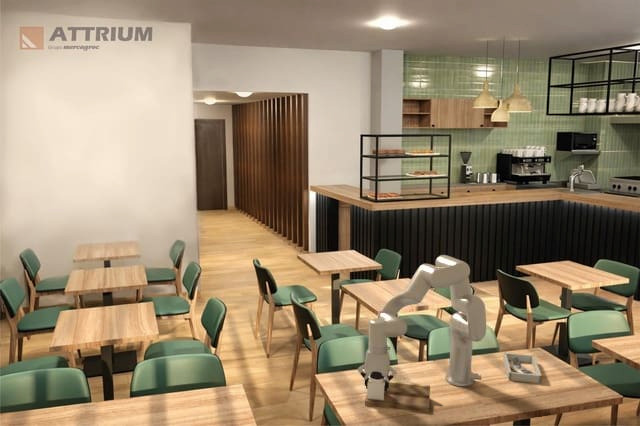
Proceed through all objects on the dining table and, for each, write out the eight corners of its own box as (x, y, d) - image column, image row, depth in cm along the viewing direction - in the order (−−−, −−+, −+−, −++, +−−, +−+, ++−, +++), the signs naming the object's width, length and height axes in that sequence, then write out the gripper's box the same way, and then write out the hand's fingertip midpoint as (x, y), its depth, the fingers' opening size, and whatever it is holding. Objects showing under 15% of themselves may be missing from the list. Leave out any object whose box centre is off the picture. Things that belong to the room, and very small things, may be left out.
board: (429, 398, 235) (430, 385, 235) (428, 412, 224) (429, 398, 223) (368, 391, 241) (368, 378, 240) (364, 405, 229) (365, 391, 228)
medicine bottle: (384, 400, 229) (385, 373, 227) (367, 399, 230) (367, 371, 228) (385, 392, 236) (386, 366, 234) (369, 390, 237) (369, 364, 235)
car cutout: (505, 364, 269) (506, 355, 268) (517, 362, 271) (518, 354, 270) (525, 378, 255) (525, 368, 254) (537, 376, 256) (538, 367, 256)
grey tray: (533, 362, 272) (533, 355, 272) (541, 383, 250) (541, 376, 249) (503, 359, 275) (503, 352, 275) (508, 380, 253) (509, 372, 252)
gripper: (399, 346, 231) (398, 386, 234) (358, 343, 235) (357, 382, 238) (398, 354, 224) (396, 395, 227) (355, 350, 228) (354, 390, 231)
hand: (376, 388), depth 232 cm, fingers open, 7 cm apart
